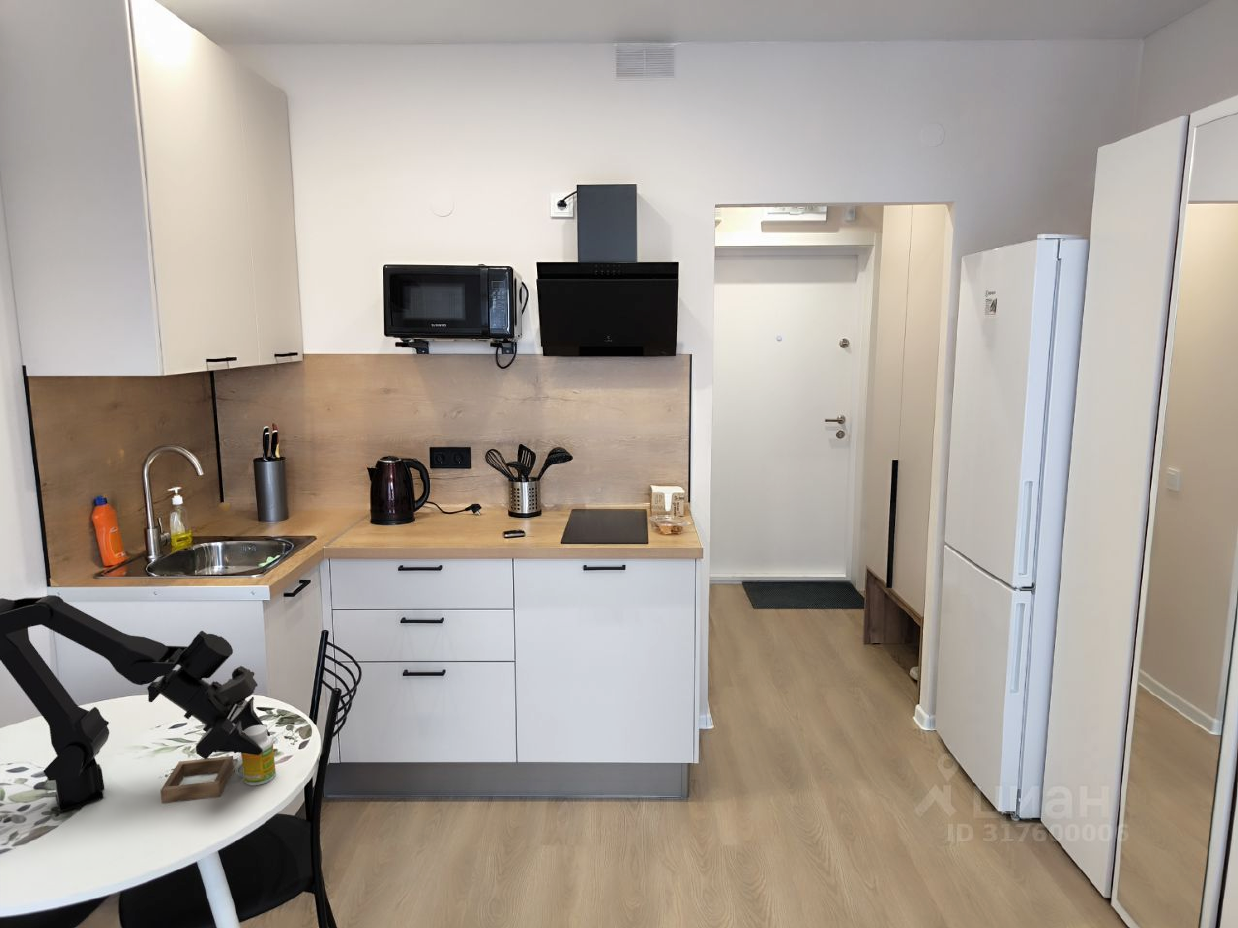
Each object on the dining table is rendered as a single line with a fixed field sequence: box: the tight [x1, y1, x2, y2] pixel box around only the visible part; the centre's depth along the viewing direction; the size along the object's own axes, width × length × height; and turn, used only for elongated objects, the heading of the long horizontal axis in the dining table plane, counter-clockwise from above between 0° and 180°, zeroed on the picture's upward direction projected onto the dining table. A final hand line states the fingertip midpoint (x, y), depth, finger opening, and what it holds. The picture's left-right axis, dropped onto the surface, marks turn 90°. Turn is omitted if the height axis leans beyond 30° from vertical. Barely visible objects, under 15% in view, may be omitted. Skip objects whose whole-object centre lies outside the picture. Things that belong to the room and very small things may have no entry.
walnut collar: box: [160, 755, 235, 804], centre depth 147 cm, size 10×10×2 cm
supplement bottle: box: [240, 724, 276, 786], centre depth 149 cm, size 5×5×10 cm
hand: (264, 744), depth 149 cm, fingers closed on supplement bottle, 5 cm apart
